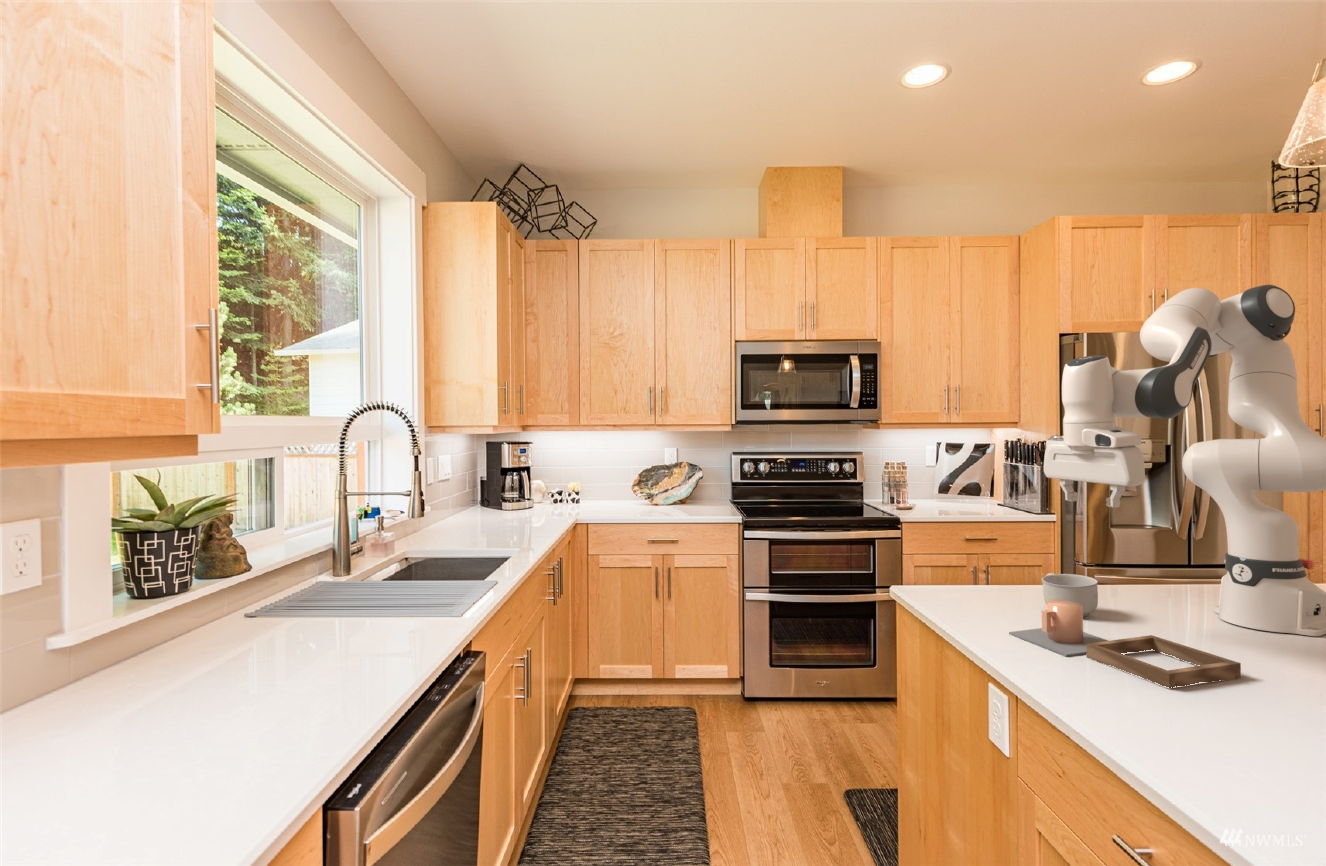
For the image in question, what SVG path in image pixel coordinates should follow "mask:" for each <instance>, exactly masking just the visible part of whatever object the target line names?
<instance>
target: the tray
mask: <svg viewBox="0 0 1326 866" xmlns="http://www.w3.org/2000/svg"><path fill="white" fill-rule="evenodd" d="M1151 649H1153V650H1155V651H1158V652H1163V653H1165V654H1168V655H1172V656H1175V657H1176V658H1179V659H1182V660H1184V661H1187V662H1191V663H1193V664H1196V665H1200V666H1196V665H1193V664H1192V665H1193V666H1187V667H1181V668H1175V669H1169V670H1167V669H1165V668H1161V667H1159V666H1156V665H1154V664H1150V663H1148V662H1146V661H1143V660H1139V659H1137V658H1134V657H1131V656H1128V655H1123V654H1121V653H1127V652H1139V651H1144V650H1145V651H1146V650H1151ZM1155 651H1154V652H1155ZM1158 652H1157V653H1158ZM1085 655H1086V659H1087V658H1088V659H1090V658H1091V659H1090V660H1092V659H1093V661H1095V660H1096V662H1097V663H1100V662H1102V663H1101V664H1103V663H1104V664H1103V665H1105V664H1106V666H1108V665H1111V666H1114V667H1116V668H1118V669H1121V670H1124V671H1126V672H1129V673H1132V674H1134V675H1137V676H1140V677H1142V678H1144V679H1148V680H1150V681H1152V682H1156V683H1158V684H1160V685H1162V686H1166V687H1169V688H1171V687H1172V688H1173V687H1175V686H1176V687H1177V686H1185V685H1186V686H1187V685H1190V684H1195V683H1199V682H1212V681H1218V682H1223V681H1222V680H1225V681H1230V680H1229V679H1231V680H1237V679H1241V678H1242V669H1241V668H1242V667H1241V665H1242V664H1241V662H1239V661H1235V660H1231V659H1228V658H1225V657H1222V656H1219V655H1215V654H1212V653H1209V652H1206V651H1203V650H1200V649H1197V648H1193V647H1191V646H1187V645H1184V644H1180V643H1177V642H1174V641H1172V640H1168V639H1165V638H1161V637H1159V636H1156V635H1152V634H1149V635H1143V636H1142V635H1141V636H1136V637H1135V636H1134V637H1128V638H1121V639H1113V640H1108V641H1104V642H1096V643H1089V644H1086V654H1085ZM1184 661H1183V662H1184ZM1187 662H1186V663H1187ZM1111 666H1110V667H1111ZM1116 668H1115V669H1116ZM1118 669H1117V670H1118ZM1121 670H1120V671H1121ZM1124 671H1123V672H1124ZM1126 672H1125V673H1126ZM1129 673H1128V674H1129ZM1134 675H1133V676H1134ZM1142 678H1141V679H1142ZM1144 679H1143V680H1144ZM1219 680H1221V681H1219ZM1152 682H1151V683H1152ZM1212 683H1213V682H1212ZM1160 685H1159V686H1160ZM1162 686H1161V687H1162ZM1187 687H1188V686H1187Z"/></svg>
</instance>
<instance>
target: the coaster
mask: <svg viewBox="0 0 1326 866" xmlns="http://www.w3.org/2000/svg"><path fill="white" fill-rule="evenodd" d="M1008 634H1009V635H1010V634H1011V636H1013V637H1016V638H1018V639H1021V640H1023V641H1025V642H1028V643H1031V644H1033V645H1036V646H1038V647H1041V648H1043V649H1046V650H1048V651H1051V652H1053V653H1055V654H1058V655H1061V656H1063V657H1065V658H1066V657H1074V655H1076V656H1082V655H1087V654H1086V644H1089V643H1096V642H1104V641H1109V640H1108V639H1105V638H1102V637H1100V636H1096V635H1094V634H1090V633H1088V632H1085V631H1083V643H1080V644H1065V643H1059V642H1055V641H1053V640H1050V639H1049V638H1048V633H1047V632H1044V631H1042V627H1040V628H1031V629H1024V630H1016V631H1014V630H1013V631H1009V632H1008Z"/></svg>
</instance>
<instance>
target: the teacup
mask: <svg viewBox="0 0 1326 866" xmlns="http://www.w3.org/2000/svg"><path fill="white" fill-rule="evenodd" d="M1041 582H1042V593H1043V600H1044V603H1045V604H1046V606H1047V602H1048V601H1051V600H1065V601H1072V602H1076V603H1079V604H1081V605H1082V606H1083V616H1084V617H1087V616H1089V615H1090V614H1091V613H1093V612H1094V611H1096V609H1097V608H1098V604H1099V603H1098V602H1099V592H1098V584H1099V582H1098V580H1097V579H1096V578H1093V577H1090V576H1087V575H1082V574H1081V575H1080V574H1073V573H1053V572H1049V573H1047V574H1046V575H1045V576H1042V577H1041Z"/></svg>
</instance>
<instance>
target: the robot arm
mask: <svg viewBox="0 0 1326 866" xmlns="http://www.w3.org/2000/svg"><path fill="white" fill-rule="evenodd" d="M1295 314H1296V305H1295V302H1294V300H1293V298H1292V297H1291V295H1290V294H1289V293H1288V291H1286V290H1284V289H1283V288H1281V287H1279V286H1276V285H1273V284H1263V285H1257V286H1254V287H1251V288H1248V289H1246V290H1244V292H1243V291H1242V292H1240V293H1238V294H1235V295H1232V296H1228V297H1227V298H1224V299H1222V300H1221V299H1220V298H1219V297H1218V295H1217V294H1216V293H1214V292H1212V291H1211V290H1210V289H1209V290H1208V289H1206V288H1202V287H1191V288H1190V287H1189V288H1187V289H1186V288H1185V289H1184V290H1181V291H1179V292H1178V293H1176V294H1175V295H1173V296H1171V297H1170V298H1168V299H1167V300H1166V301H1165V302H1163V303H1161V305H1160V306H1158V307H1157V308H1156V310H1154V312H1152V313H1151V314H1150V315H1149V317H1148V318H1147V319H1146V320H1145V322H1144V323H1143V325H1141V328H1140V331H1139V340H1140V343H1141V347H1143V349H1144V350H1145V351H1146V352H1147V353H1148V354H1149V355H1150V356H1151V357H1154V358H1155V359H1157V360H1160V361H1163V362H1167V363H1168V364H1166V365H1163V366H1157V367H1151V368H1139V369H1128V370H1127V369H1126V370H1119V369H1118V368H1115V367H1113V366H1111V363H1110V359H1109V357H1108V356H1107V355H1102V354H1099V355H1098V354H1097V355H1094V354H1093V355H1088V356H1082V357H1076V358H1074V359H1071V360H1069V361H1068V362H1066V363H1065V364H1064V367H1063V370H1062V371H1063V372H1062V379H1061V401H1062V403H1061V404H1062V405H1063V408H1064V416H1063V418H1062V428H1063V429H1062V431H1063V432H1062V433H1063V434H1062V435H1057V434H1054V435H1051V436H1050V437H1049V438H1048V439H1047V440H1046V443H1045V451H1044V456H1043V457H1044V458H1043V459H1044V460H1043V473H1044V475H1045V477H1046V478H1048V479H1055V480H1059V486H1060V487H1061V489H1062V491H1063V492H1064V496H1065V498H1064V500H1065V501H1067V502H1078V500H1079V494H1078V492H1075V490H1074V488H1073V485H1072V484H1074V481H1075V482H1083V483H1084V482H1086V483H1095V484H1101V485H1103V484H1104V485H1109V489H1110V491H1112V492H1111V494H1110V497H1106V498H1105V502H1106V503H1105V506H1106V507H1108V508H1120V506H1121V498H1122V496H1123V494H1124V493H1125V491H1126V487H1135V486H1136V487H1137V486H1140V485H1142V484H1143V482H1144V481H1145V478H1146V469H1145V468H1146V467H1145V459H1144V453H1143V452H1142V450H1141V449H1140V448H1139V447H1138V446H1141V444H1142V436H1141V435H1140V434H1138V433H1135V432H1133V431H1130V430H1127V429H1124V428H1122V427H1119V426H1117V425H1116V422H1115V421H1116V419H1115V418H1152V419H1166V420H1167V419H1173V418H1174V419H1175V417H1177V416H1179V415H1180V414H1181V413H1182V412H1184V411H1185V410H1186V409H1187V407H1188V406H1189V405H1190V403H1191V400H1192V397H1193V393H1194V388H1195V385H1196V383H1197V381H1198V379H1199V377H1200V376H1201V373H1202V372H1203V369H1204V368H1205V366H1206V364H1207V362H1208V360H1209V358H1213V357H1216V356H1218V355H1219V354H1222V353H1227V352H1229V354H1230V357H1231V359H1232V363H1231V366H1230V371H1229V377H1228V401H1227V414H1228V416H1229V419H1231V420H1232V422H1233V423H1236V424H1237V425H1238V426H1240V427H1241V428H1244V429H1247V430H1250V431H1252V432H1256V433H1258V434H1260V435H1262V436H1263V437H1261V438H1218V439H1211V440H1204V441H1198V442H1195V443H1192V444H1191V445H1190V446H1189V447H1187V449H1186V451H1185V452H1184V454H1183V457H1182V460H1181V464H1182V465H1181V466H1182V470H1183V473H1184V475H1185V476H1186V478H1187V479H1188V480H1189V481H1190V482H1191V483H1192V484H1194V485H1195V486H1197V487H1199V488H1200V489H1202V491H1205V493H1206V494H1208V495H1209V496H1210V497H1211V498H1212V499H1213V501H1215V502H1216V504H1217V505H1218V507H1219V509H1220V511H1221V513H1222V516H1223V518H1224V523H1225V530H1226V539H1227V552H1225V557H1224V561H1223V562H1224V565H1225V566H1224V568H1225V570H1226V571H1227V572H1226V574H1224V575H1223V576H1222V577H1221V582H1220V591H1219V602H1218V603H1219V604H1218V605H1217V606H1214V609H1213V610H1214V612H1215V613H1216V614H1218V618H1219V619H1221V620H1222V621H1224V622H1227V623H1230V624H1232V625H1235V626H1236V625H1237V626H1239V627H1245V628H1249V629H1254V630H1259V631H1266V632H1273V633H1286V634H1296V635H1304V636H1310V637H1320V636H1323V635H1326V592H1325V590H1324V589H1323V590H1322V589H1321V588H1320V587H1319V586H1317V585H1316V584H1315V583H1314V582H1313V581H1311V580H1310V579H1309V578H1308V577H1307V573H1306V570H1314V568H1315V565H1316V563H1315V561H1314V559H1305V558H1303V557H1302V558H1300V551H1299V549H1300V548H1299V545H1300V544H1299V543H1300V542H1299V525H1298V523H1297V521H1296V519H1294V518H1293V517H1292V516H1291V515H1289V514H1287V513H1286V512H1285V511H1282V510H1279V509H1277V508H1275V507H1272V506H1270V505H1267V504H1265V503H1263V502H1262V501H1261V500H1260V499H1259V498H1258V496H1257V495H1256V494H1257V492H1262V491H1264V492H1287V493H1288V492H1290V493H1311V492H1312V493H1313V492H1322V491H1326V438H1325V437H1323V436H1321V435H1320V434H1318V433H1316V432H1315V431H1314V430H1312V429H1311V428H1310V427H1309V426H1308V424H1307V423H1306V422H1305V420H1304V419H1303V417H1302V416H1301V412H1300V407H1299V401H1298V400H1299V399H1298V379H1297V378H1298V377H1297V376H1298V375H1297V368H1296V362H1295V358H1294V353H1293V351H1292V349H1291V346H1290V345H1289V344H1288V343H1287V342H1286V341H1284V340H1283V339H1285V338H1286V337H1287V336H1288V335H1289V333H1290V332H1291V330H1292V329H1291V328H1292V324H1293V323H1294V320H1295Z"/></svg>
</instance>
